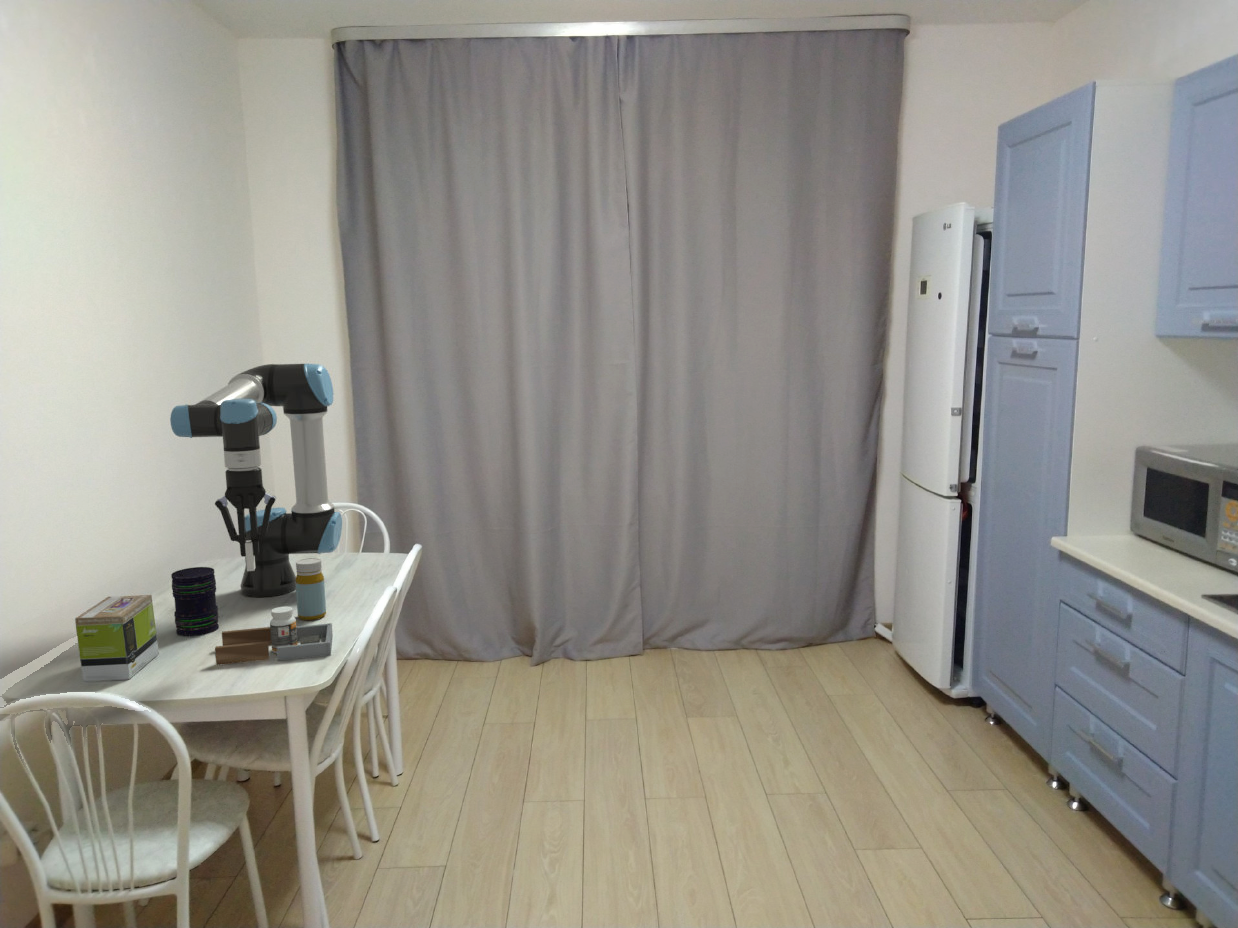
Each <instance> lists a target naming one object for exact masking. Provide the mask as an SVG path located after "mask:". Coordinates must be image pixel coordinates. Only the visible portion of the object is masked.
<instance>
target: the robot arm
mask: <svg viewBox="0 0 1238 928" xmlns="http://www.w3.org/2000/svg"><path fill="white" fill-rule="evenodd" d="M329 373H330V372H328V369H327V368H326V367H325V366H324V365H322V364H319V363H318V364H316V363H285V364H284V363H283V364H281V363H278V364H276V363H272V364H269V363H268V364H264V365H263V364H262V365H257V366H255V367H252V368H250V369H247V370H244V371H242V372H240V373H238V374H236V375H234V376H232V378H231V379H230V380H229V381H228V383H227V385H226V386H224V387H222V388H220V389H219V390H217V391H215V392H214V393H212V394H211V395H208V396H207V397H206V398H204V399H202V400H201V401H199V402H197V403H195V404H182V405H176V406H174V407H173V408H172V410H171V412H170V419H169V421H170V427H171V430H172V432H173V434H174V435H175V436H176V437H180V438H190V439H192V438H211V437H212V438H217V437H220V438H221V437H222V445H223V459H224V468H225V469H226V471H225V483H226V489H225V492H224V495H223V496H222V497H221V498H218V499H217V500H216V501H215V503H214V505H215V507H216V508H217V509H218V510H219V512H220V513H221V516H222V519H223V522H224V525H225V528H226V530H227V533H228V536H229V539H230V541H232V542H237V543H239V551H240V556H241V557H244V559H245V560H244V561H245V567H244V572H243V575H242V579H241V583H240V593H241V594H242V595H243V596H245V597H251V598H253V597H255V598H264V597H266V598H267V597H274V596H280V595H284V594H288V593H290V592H292V591H296V583H295V582H296V581H295V579H296V576H297V575H296V574H295V571H294V569H293V567H292V564H291V562H290V555H299V554H300V555H301V554H302V555H303V554H304V555H305V554H309V555H310V554H318V555H320V554H326V553H328V554H330V553H333V552H335V550H336V549H337V548H338V546H339V544H340V540H341V536H342V532H343V531H342V529H343V518H342V514H341V512H338V511H335V505H334V503H333V502H331V501H330V500H329V496H328V495H329V494H328V481H327V479H328V478H327V469H326V467H327V466H326V465H327V464H326V452H325V437H324V436H325V435H324V424H323V423H324V422H323V421H324V420H323V418H324V416H325V415H326V414H327V413H328V407H330V406H332V404H333V402H334V387H333V383H332V379H331V376H330V374H329ZM273 407H282V408H283V415H285V416H286V417H287V418H288V419H289V425H290V437H291V438H290V439H291V448H292V449H291V450H292V464H293V476H294V487H295V499H296V502H295V504H294V505H293V506H292V507H291V509H290V510H291V512H290V513H288V512H287V509H286V508H285V507H280V506H279V507H273V505H274V504H275V502H276V500H277V497H276V495H271V494H269V493H267V491H266V489H265V488H264V483H263V471H262V468H261V467H260V466H262V459H261V446H260V436H265V435H268V433H270V432H271V431H272V430H274V428H275V427H276V425H277V420H278V416H277V413H276V411H275V409H274V408H273ZM263 499H264V504H265V508H264V509H260V510H257V507H258V505H259V504H260V502H262V501H263ZM228 502H229V503H230V504H231V505H232V506H233V507H234V508H235V509H236V516H237V517H236V519H237V529H238V533H237V530H236V527H235V524H234V521H233V519H232V516H231V513H230V510H229V508H228V504H229V503H228ZM246 509H248V514H245V510H246Z"/></svg>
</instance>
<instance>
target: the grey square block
mask: <svg viewBox="0 0 1238 928" xmlns="http://www.w3.org/2000/svg"><path fill="white" fill-rule="evenodd" d="M320 638H321V637H319V635H316V636H305V637H301V639H300V640H299V641H300V642H299V644H308V643H318V642H321V641H320V640H321V639H320Z"/></svg>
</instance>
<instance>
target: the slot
mask: <svg viewBox="0 0 1238 928" xmlns="http://www.w3.org/2000/svg"><path fill="white" fill-rule="evenodd" d="M221 642H222V645H219V646H218V645H217V646H215V647H214V653H215V654H214V655H215V665H216V666H221V665H222V666H223V665H224V666H225V665H231V664H242V663H250V662H251V663H252V662H260V661H269V660H270V650H269V649H270V648H269V645H271V632H270V626H267V627H256V628H255V627H254V628H246V629H244V628H243V629H235V630H234V629H233V630H225V631H222V632H221ZM271 646H272V645H271Z"/></svg>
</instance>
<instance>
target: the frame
mask: <svg viewBox="0 0 1238 928" xmlns="http://www.w3.org/2000/svg"><path fill="white" fill-rule="evenodd" d="M296 629H297V641H298V640H299V641H301V637H305V636H316V635H319V637H320V638H325V641H320V642H318V643H308V644H300V643H299V644H298V645H289V646H279V647H277V653H276V654H277V655H276V657H277V661H278V662H279V661H280V662H281V661H288V660H289V661H290V660H298V659H299V660H300V659H306V658H307V659H308V658H316V657H317V658H318V657H325V656H326V657H327V656H332V647H333V636H334V635H333V623H332V622H329V623H320V624H311V625H300V626H299V625H298V626H296Z"/></svg>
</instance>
